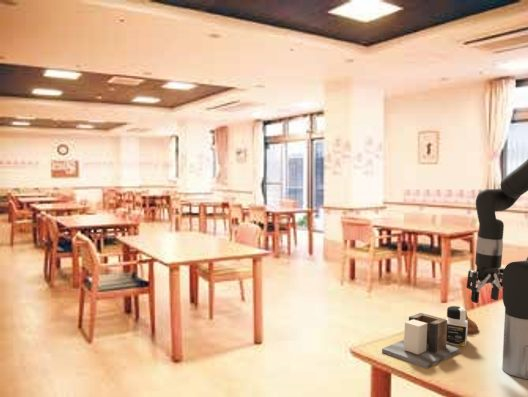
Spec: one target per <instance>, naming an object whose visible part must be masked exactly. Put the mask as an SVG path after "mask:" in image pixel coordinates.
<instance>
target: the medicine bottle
mask: <svg viewBox="0 0 528 397" xmlns="http://www.w3.org/2000/svg"><path fill="white" fill-rule="evenodd" d="M466 312H467V310H466V309H465V308H464V307H462V306H456V305H451V306H448V307H447V309H446V318H445V319H446V320H447V339H446V344H448V345H449V344H450V345H456V346H460V347H461V346H462V347H466V346H467V340H468V334H467V331H468V321H467V320H466Z"/></svg>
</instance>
